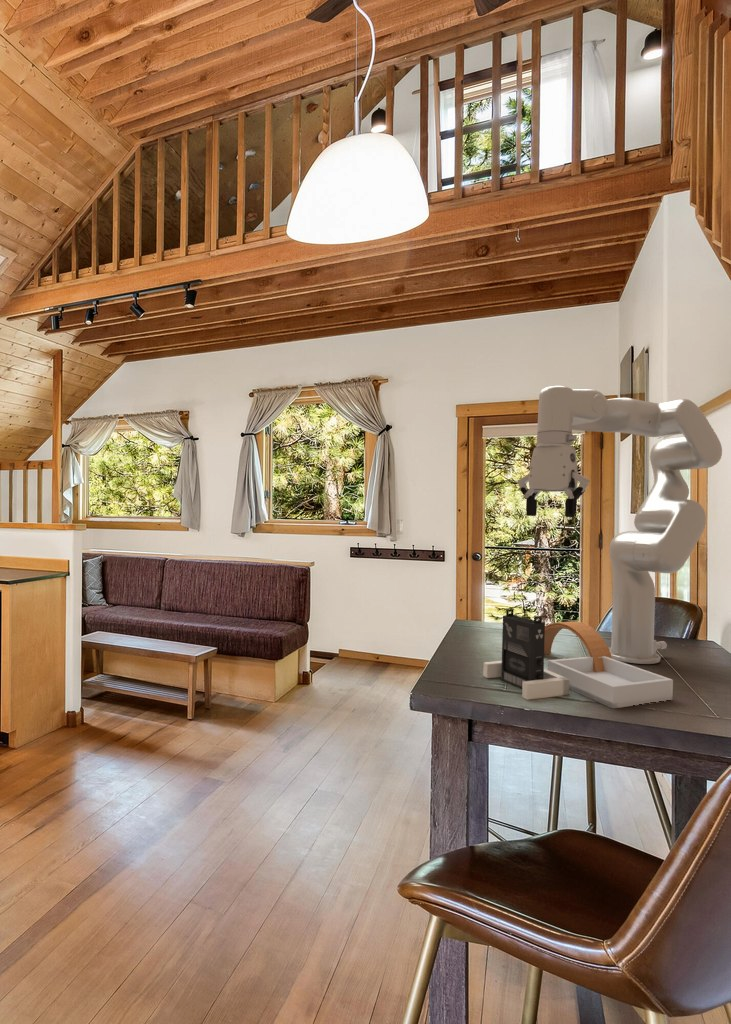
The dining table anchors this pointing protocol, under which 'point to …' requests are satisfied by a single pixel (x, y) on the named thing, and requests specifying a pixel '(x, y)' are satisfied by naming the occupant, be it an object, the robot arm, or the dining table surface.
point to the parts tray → (613, 681)
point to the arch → (586, 635)
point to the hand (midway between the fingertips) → (550, 516)
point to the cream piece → (533, 682)
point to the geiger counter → (522, 649)
